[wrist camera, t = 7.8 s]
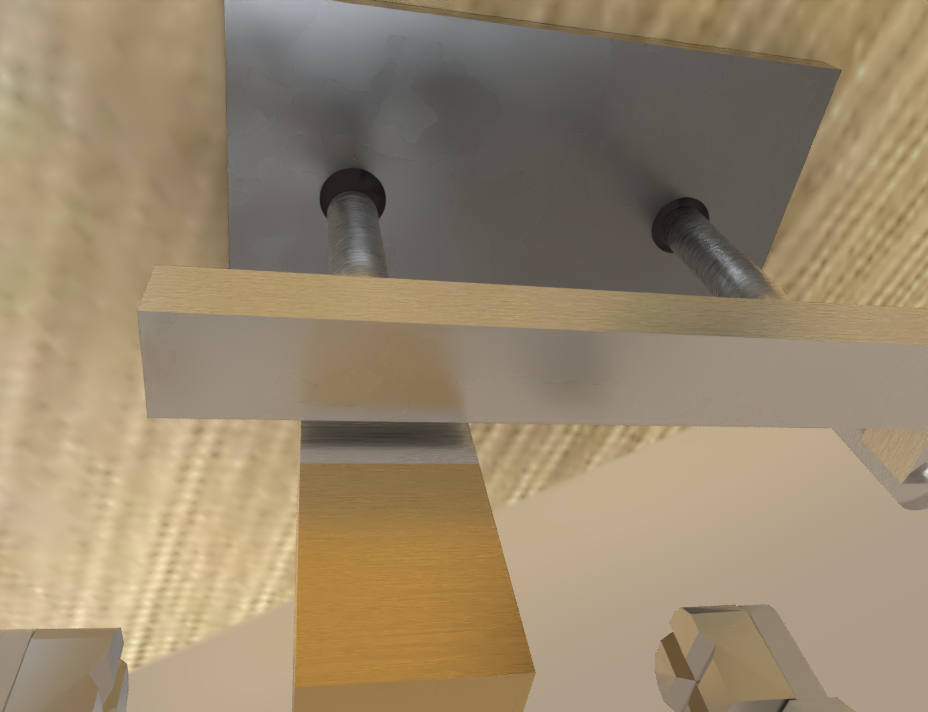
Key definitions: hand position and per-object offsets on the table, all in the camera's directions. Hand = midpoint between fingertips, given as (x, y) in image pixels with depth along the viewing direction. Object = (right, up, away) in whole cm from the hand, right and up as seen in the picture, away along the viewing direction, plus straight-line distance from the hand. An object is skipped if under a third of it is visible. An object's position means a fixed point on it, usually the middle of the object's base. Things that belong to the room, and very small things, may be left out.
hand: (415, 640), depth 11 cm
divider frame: (+1, +10, +14) cm, 18 cm away
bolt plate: (+3, +10, +16) cm, 19 cm away
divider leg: (-3, +9, +13) cm, 17 cm away
